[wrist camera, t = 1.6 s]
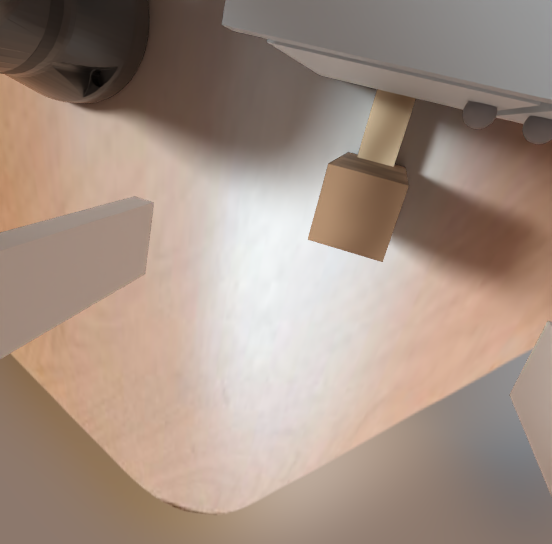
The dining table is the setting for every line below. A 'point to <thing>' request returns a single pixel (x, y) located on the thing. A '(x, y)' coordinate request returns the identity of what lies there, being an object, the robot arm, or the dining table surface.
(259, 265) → the dining table surface
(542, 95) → the cabinet
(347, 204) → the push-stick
